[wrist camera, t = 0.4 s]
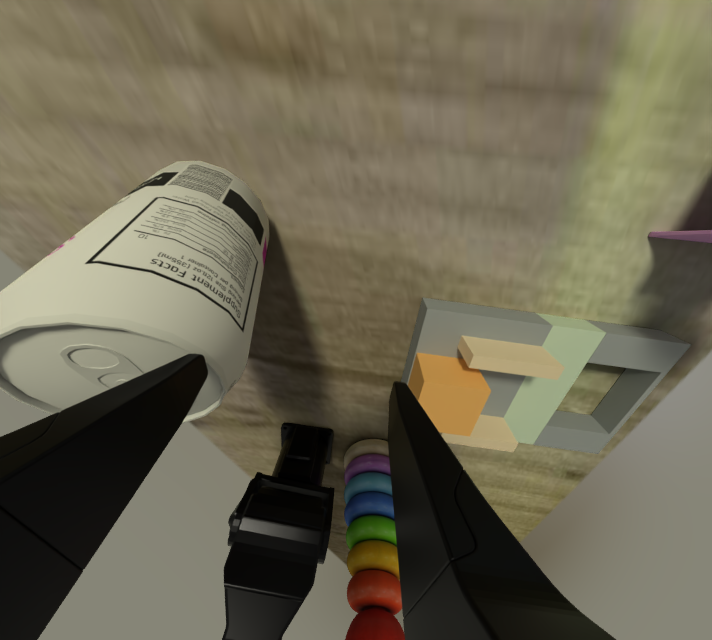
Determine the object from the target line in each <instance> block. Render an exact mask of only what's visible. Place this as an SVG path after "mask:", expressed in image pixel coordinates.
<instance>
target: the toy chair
mask: <svg viewBox="0 0 712 640" xmlns="http://www.w3.org/2000/svg"><path fill="white" fill-rule="evenodd" d="M649 237H657V238H667V239H677V240H687V241H696V242H706V243H712V230H700V231H668V232H650V234H649Z"/></svg>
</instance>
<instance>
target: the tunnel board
mask: <svg viewBox="0 0 712 640" xmlns="http://www.w3.org/2000/svg"><path fill="white" fill-rule="evenodd" d="M690 346H691V344H689V343H687V342H685V341H683V340H680V339H678V338H676V337H674V336H672V335H670V334H668V333H666V332H664V331H662V330H656V329H649V328H641V327H634V326H627V325H619V324H612V323H605V322H597V321H590V320H583V319H576V318H568V317H561V316H554V315H546V314H539V313H532V312H524V311H517V310H510V309H502V308H495V307H488V306H480V305H473V304H466V303H459V302H451V301H444V300H437V299H429V298H422V301H421V305H420V309H419V313H418V317H417V321H416V325H415V329H414V333H413V336H412V340H411V344H410V348H409V352H408V356H407V360H406V364H405V368H404V371H403V375H402V379H401V382H405V383H406V384H407V385H408V382H409V379H410V375H411V371H412V368H413V364H414V360H415V357H416V353H425V354H432V355H439V356H446V357H454V358H461V359H464V360H465V362H466V364H467V366H468V367H469V368H474V369H479V371H480V372H481V374H482V376H483V377H484V379H485V381H486V383H487V384H488V386H489V388H490V389H491V393H490V395H489V397H488V399H487V401H486V403H485V405H484V407H483V410H482V412H481V414H480V416H479V418H478V420H477V422H476V424H475V426H474V429H473V431H472V433H471V435H470V437H469V436H462V435H455V434H448V433H441V432H439V433H440V434H441V436H442V437H443V439H444V440H445V441H446V443H452V444H459V445H466V446H473V447H481V448H488V449H495V450H502V451H509V452H513V451H514V450H515V448H516V447H517V445H518V442H519V443H527V444H533V445H538V446H545V447H552V448H560V449H567V450H574V451H581V452H588V453H595V454H598V453H599V452H600V451H601V450H602V449H603V448H604V446H605V445H606V444H607V443H608V442H609V441H610V439H611V438H612V437H613V436H614V435H615V434H616V432H617V431H618V430H619V429H620V428H621V427H622V425H623V424H624V423H625V422H626V421H627V420H628V418H629V417H630V416H631V415H632V414H633V413H634V411H635V410H636V409H637V408H638V407H639V406H640V404H641V403H642V402H643V401H644V400H645V399H646V397H647V396H648V395H649V394H650V393H651V391H652V390H653V389H654V388H655V387H656V386H657V384H658V383H659V382H660V381H661V380H662V379H663V377H664V376H665V375H666V374H667V373H668V372H669V370H670V369H671V368H672V367H673V366H674V365H675V363H676V362H677V361H678V360H679V359H680V358H681V356H682V355H683V354H684V353H685V352H686V351H687V349H688V348H689V347H690ZM587 362H588V363H595V364H603V365H610V366H617V367H624V368H626V369H625V371H624V372H623V373H622V375H621V376H620V377H619V379H618V380H617V381H616V383H615V384H614V385H613V386H612V388H611V389H610V390H609V392H608V393H607V394H606V396H605V397H604V398H603V400H602V401H601V402H600V404H599V405H598V406H597V408H596V409H595V410H594V412H593V413H592V414H591V415H586V414H578V413H571V412H564V411H557V410H556V409H557V408H558V406H559V404H560V403H561V401H562V400H563V398H564V397H565V395H566V394H567V392H568V391H569V389H570V388H571V386H572V385H573V383H574V382H575V380H576V379H577V377H578V376H579V374H580V373H581V371H582V370H583V368H584V366H585V365H586V363H587Z"/></svg>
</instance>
